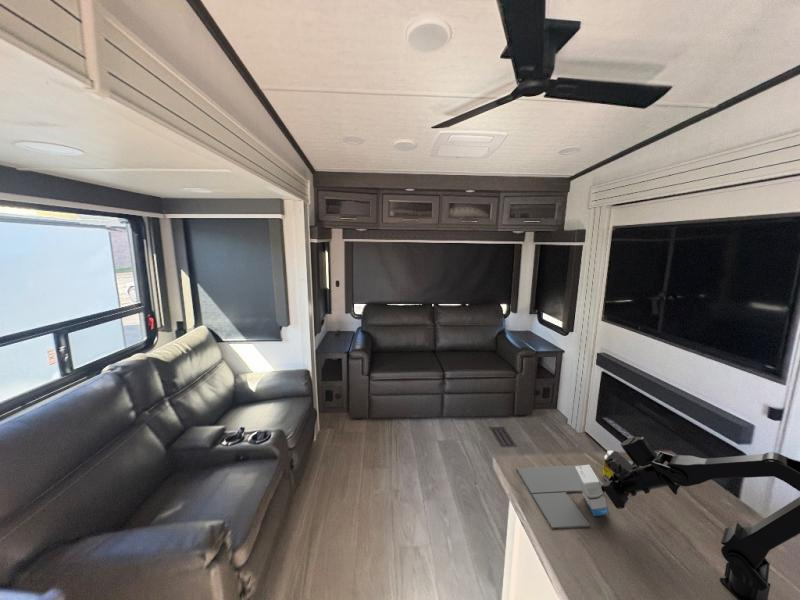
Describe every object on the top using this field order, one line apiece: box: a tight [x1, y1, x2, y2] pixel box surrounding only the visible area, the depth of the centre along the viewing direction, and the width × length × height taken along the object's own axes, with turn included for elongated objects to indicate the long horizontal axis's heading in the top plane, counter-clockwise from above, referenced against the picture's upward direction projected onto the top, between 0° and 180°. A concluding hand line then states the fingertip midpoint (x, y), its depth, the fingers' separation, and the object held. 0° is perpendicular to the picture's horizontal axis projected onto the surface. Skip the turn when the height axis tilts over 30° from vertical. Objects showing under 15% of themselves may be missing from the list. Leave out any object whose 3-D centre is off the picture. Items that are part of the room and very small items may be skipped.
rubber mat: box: [516, 464, 604, 530], centre depth 107 cm, size 26×28×1 cm
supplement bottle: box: [602, 450, 614, 482], centre depth 113 cm, size 6×6×10 cm
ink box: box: [575, 464, 610, 517], centre depth 101 cm, size 8×5×12 cm, turn 168°
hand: (600, 488), depth 100 cm, fingers closed
